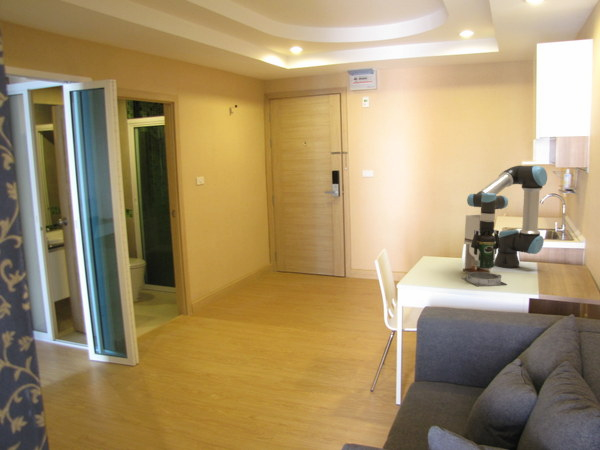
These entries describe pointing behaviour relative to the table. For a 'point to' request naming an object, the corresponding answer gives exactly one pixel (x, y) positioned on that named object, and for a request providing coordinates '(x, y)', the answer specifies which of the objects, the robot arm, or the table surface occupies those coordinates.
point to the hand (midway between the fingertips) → (484, 260)
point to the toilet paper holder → (470, 227)
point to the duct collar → (483, 279)
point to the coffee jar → (485, 251)
